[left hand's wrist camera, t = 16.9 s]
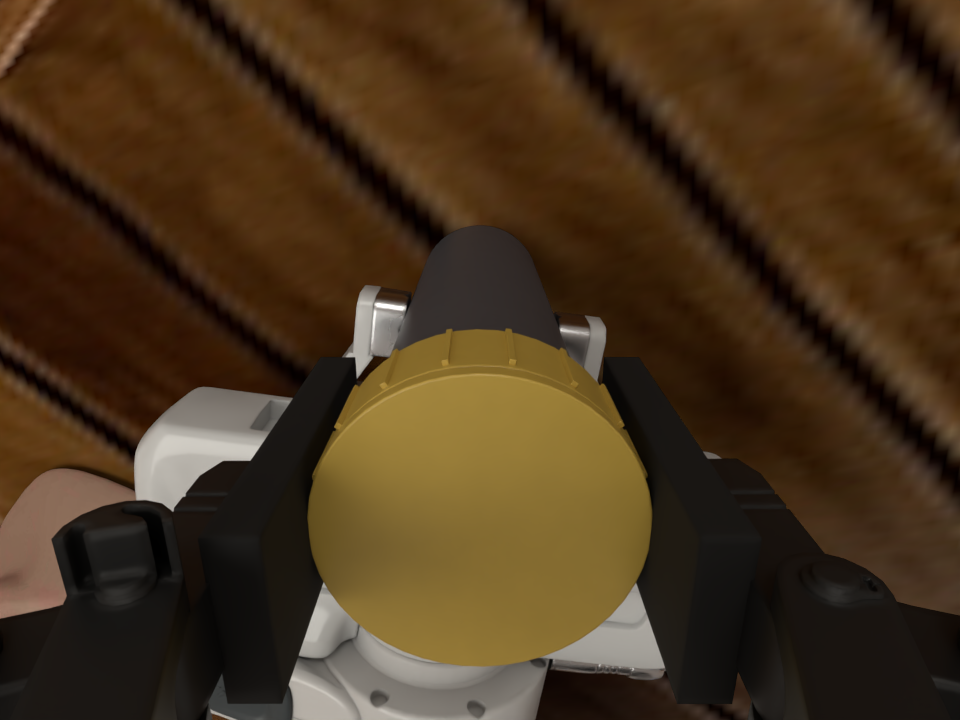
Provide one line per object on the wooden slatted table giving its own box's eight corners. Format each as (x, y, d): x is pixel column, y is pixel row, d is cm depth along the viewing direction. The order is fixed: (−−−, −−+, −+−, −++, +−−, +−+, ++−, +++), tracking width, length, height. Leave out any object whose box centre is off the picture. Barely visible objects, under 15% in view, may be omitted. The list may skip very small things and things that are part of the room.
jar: (550, 317, 27) (646, 581, 11) (445, 350, 27) (399, 647, 12) (517, 209, 25) (576, 344, 10) (406, 246, 26) (295, 430, 10)
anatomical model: (-78, 498, 25) (216, 559, 26) (-6, 450, 29) (249, 504, 30) (-66, 739, 29) (185, 783, 30) (-4, 670, 33) (217, 711, 34)
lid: (592, 286, 11) (617, 324, 9) (653, 549, 13) (686, 630, 11) (288, 371, 12) (246, 424, 9) (389, 611, 13) (373, 699, 11)
